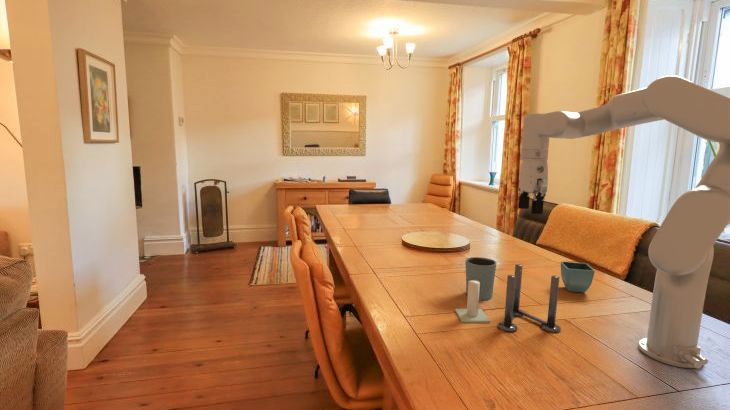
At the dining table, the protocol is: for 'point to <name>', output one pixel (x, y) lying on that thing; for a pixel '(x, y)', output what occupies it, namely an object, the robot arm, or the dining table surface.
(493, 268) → the grey teal cup
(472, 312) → the dowel
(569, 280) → the flower pot
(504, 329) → the upright post stand
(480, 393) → the dining table surface
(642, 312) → the dining table surface
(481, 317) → the pad
